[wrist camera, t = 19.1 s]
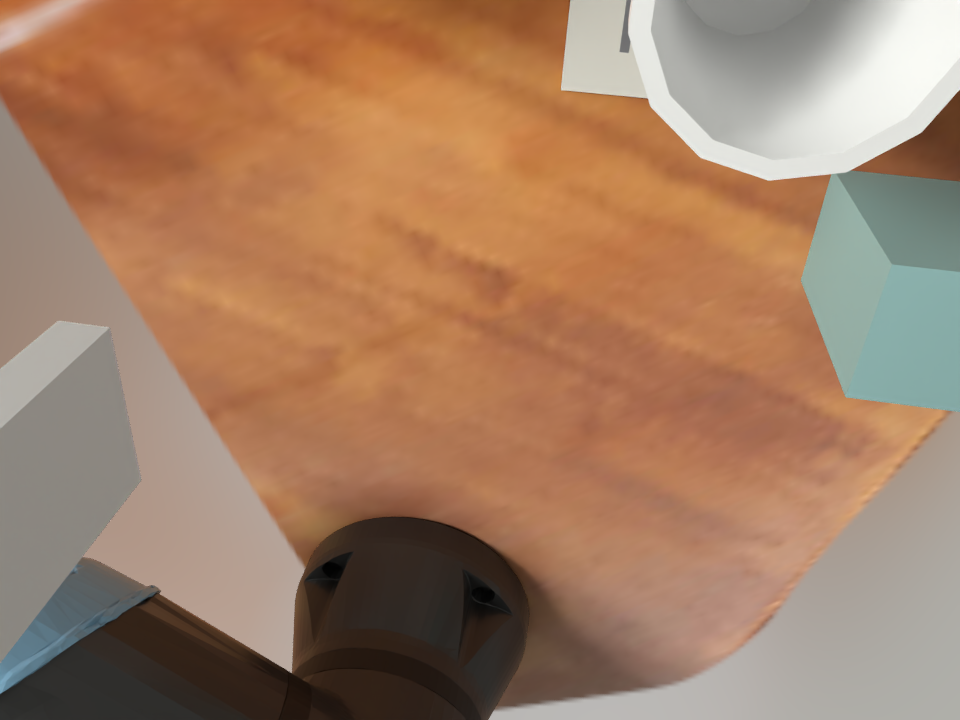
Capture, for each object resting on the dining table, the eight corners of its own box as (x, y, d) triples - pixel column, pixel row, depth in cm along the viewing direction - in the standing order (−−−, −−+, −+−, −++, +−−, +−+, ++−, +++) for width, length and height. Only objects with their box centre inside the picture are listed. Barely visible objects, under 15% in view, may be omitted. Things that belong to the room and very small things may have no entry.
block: (800, 280, 40) (845, 397, 31) (833, 168, 37) (892, 264, 29) (921, 294, 39) (999, 416, 31) (963, 182, 36) (1062, 283, 28)
